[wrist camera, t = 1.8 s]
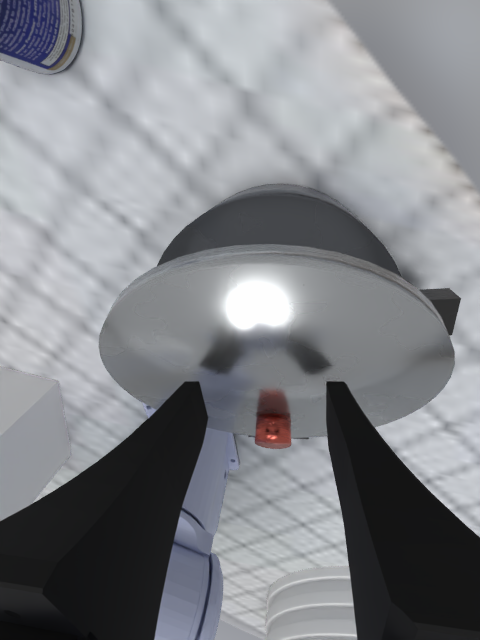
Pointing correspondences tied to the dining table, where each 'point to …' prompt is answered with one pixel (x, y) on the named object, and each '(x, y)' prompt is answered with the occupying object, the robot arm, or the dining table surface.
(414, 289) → the pot lid
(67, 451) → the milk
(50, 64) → the pill bottle
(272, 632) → the plate stack
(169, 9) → the dining table surface
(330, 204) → the cooking pot
